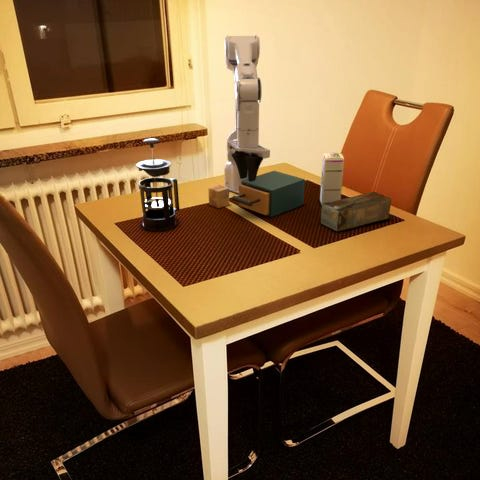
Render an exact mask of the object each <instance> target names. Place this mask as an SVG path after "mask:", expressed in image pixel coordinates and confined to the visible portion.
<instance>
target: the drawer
mask: <svg viewBox="0 0 480 480" xmlns="http://www.w3.org/2000/svg"><path fill="white" fill-rule="evenodd" d="M231 200H232V201H233V202H236V203H238V206H239V207H242V208H244V209H247V210H250V211H252V212H255V213H258V214H261V215H264V216H267V215H268V214H269V212H270V192H268V191H265V190H262V189H259V188H256V187H253V186H249V185H246V186H245V185H239V193H238V195H232V196H231Z"/></svg>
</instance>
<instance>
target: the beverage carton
mask: <svg viewBox="0 0 480 480" xmlns="http://www.w3.org/2000/svg"><path fill="white" fill-rule="evenodd" d="M391 205H392V198H391V197H388V196H386V195H384V194H382V193H378V192H375V191H372V192H367V193H363V194H358V195H354V196H350V197H346V198H341V200H336V201H332V202H327V203H323V204H322V205H321V212H320V224H322V225H323V226H325V227H327V228H329V229H331V230H333V231H335V232H340V231H344V230H349V229H354V228H356V227H361V226H365V225H369V224H372V223H376V222H379V221H383V220H388V219H390V212H391Z"/></svg>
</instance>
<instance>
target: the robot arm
mask: <svg viewBox="0 0 480 480" xmlns="http://www.w3.org/2000/svg"><path fill="white" fill-rule="evenodd" d="M260 41H261V40H260V37H259V36H258V34H256V35H226V36H225V37H224V58H225V60H224V61H225V66H226V69H228V70H230V71H231V72H232V75H233V79H234V82H233V83H234V117H235V118H234V123H235V125H234V127H235V129H234V130H233V131H231V132H230V133H229V134H228V135H227V137H226V160H227V162H226V163H225V165H224V170H223V172H224V175H223V176H224V187H227V188H229V192H233V193H236V194H239V185H241V181H242V180H245V179H248V180H249V181H250V182H252V181H255V180H256V176H258V172H259V169H260V166H261V164H262V162H263V161H264V159H268V158H270V157H271V150H270V149H268V148H265V147H264V146H261V145H260V144H259V141H260V139H259V136H260V135H259V133H260V130H259V129H260V103H261V101H262V95H263V93H262V92H263V91H262V88H263V87H262V81H261V77H259V76H258V69H257V65H258V63H259V58H260V53H261V52H260V51H261V50H260V49H261V44H260V43H261V42H260Z"/></svg>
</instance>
